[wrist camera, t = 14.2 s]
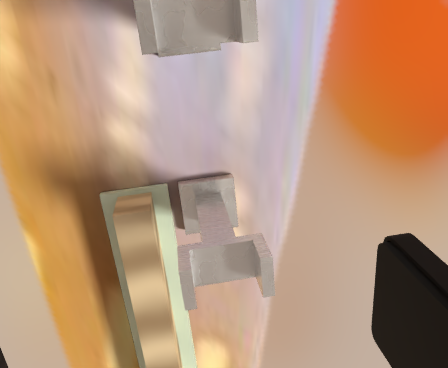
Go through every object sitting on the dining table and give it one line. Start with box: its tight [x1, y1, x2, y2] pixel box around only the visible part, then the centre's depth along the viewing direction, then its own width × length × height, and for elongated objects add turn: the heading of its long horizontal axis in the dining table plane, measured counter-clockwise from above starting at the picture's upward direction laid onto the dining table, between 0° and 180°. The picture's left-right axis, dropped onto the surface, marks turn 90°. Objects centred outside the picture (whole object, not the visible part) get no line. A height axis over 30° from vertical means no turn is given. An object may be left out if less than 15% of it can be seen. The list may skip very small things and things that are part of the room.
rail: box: [112, 192, 183, 368], centre depth 39 cm, size 22×3×4 cm, turn 6°
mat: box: [100, 183, 197, 368], centre depth 41 cm, size 23×6×1 cm, turn 6°
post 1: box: [133, 0, 258, 57], centre depth 26 cm, size 5×6×13 cm
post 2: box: [177, 174, 275, 311], centre depth 32 cm, size 5×6×13 cm
